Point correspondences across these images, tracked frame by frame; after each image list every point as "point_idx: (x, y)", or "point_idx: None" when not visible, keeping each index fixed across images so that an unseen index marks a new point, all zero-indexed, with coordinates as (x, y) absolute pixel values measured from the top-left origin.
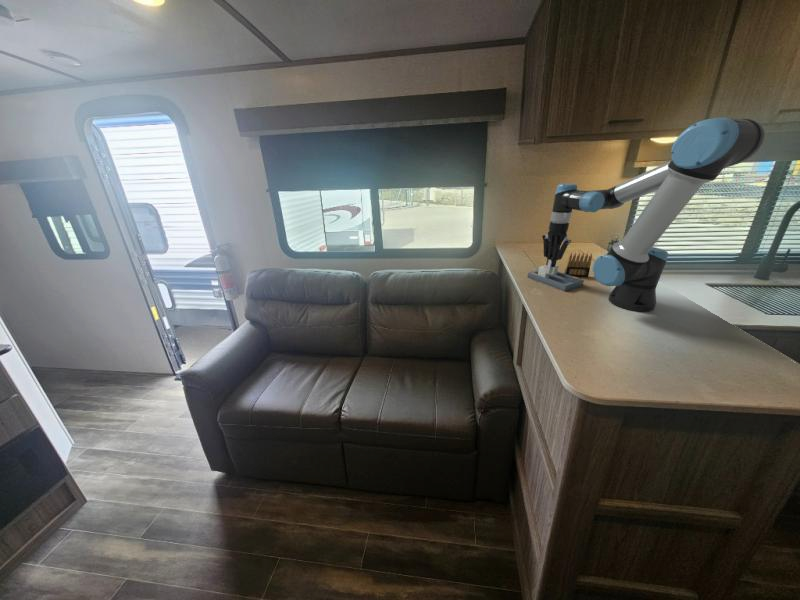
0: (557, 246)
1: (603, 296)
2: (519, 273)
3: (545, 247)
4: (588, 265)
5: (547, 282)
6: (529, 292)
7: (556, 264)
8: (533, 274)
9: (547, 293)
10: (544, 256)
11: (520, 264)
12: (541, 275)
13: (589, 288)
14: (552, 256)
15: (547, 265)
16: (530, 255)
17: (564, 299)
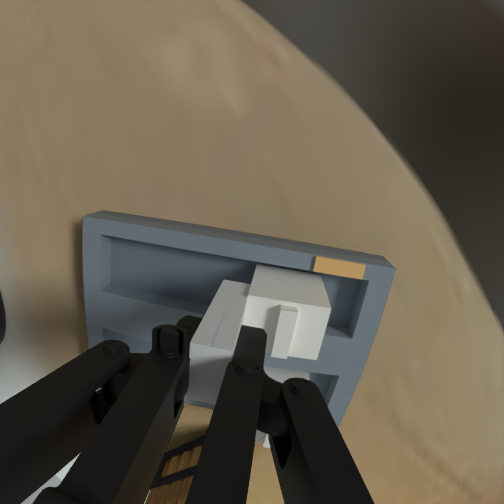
0: (67, 491)
1: (12, 289)
2: (448, 286)
3: (325, 486)
4: (151, 495)
5: (215, 231)
6: (223, 27)
7: (258, 441)
8: (347, 260)
9: (144, 100)
10: (303, 378)
11: (476, 405)
12: (288, 276)
13: (74, 342)
14: (174, 377)
15: (241, 314)
16: (452, 494)
17: (61, 111)
